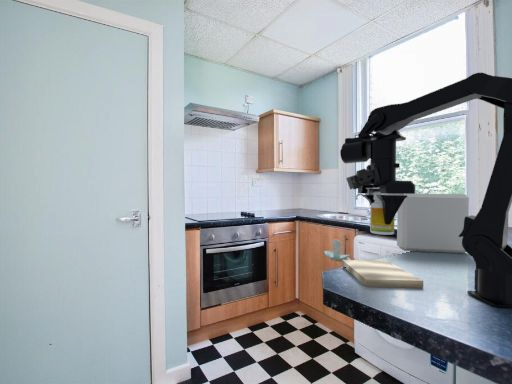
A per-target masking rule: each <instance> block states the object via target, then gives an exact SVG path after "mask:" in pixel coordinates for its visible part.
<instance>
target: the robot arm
mask: <svg viewBox="0 0 512 384" xmlns="http://www.w3.org/2000/svg"><path fill="white" fill-rule="evenodd" d="M476 99H477V100H480V101H483V102H486V103H488V104H491V105H492V106H496V107H498V108H500V109H503V118H502V119H503V121H502V123H503V127H502V128H503V134H502V140H501V142H500V145H499V148H498V152H497V155H496V158H495V162H494V165H493V168H492V172H491V174H490V178H489V182H488V185H487V187H486V190H485V195H484V198H483V200H482V204H481V207H480V209H479V211H478V212H477V213H476V215H468V216H466V217H465V219H464V228H463V231H462V233H461V234H460V235H459V237H463V239H462V246H463V248H464V249H465V251H466V252H465V253H467V254H468V255H469V256H470V257H472V259H473V260H474V261H473V262H474V263H475V270H474V288H473V289H474V290H467V294H468V295H470V296H472V297H474V298H476V299H478V300H480V301H483V302H485V303H487V304H489V305H490V306H493V307H496V308H512V246H510V244H508V235H509V212H510V209H511V205H512V77H507V76H499V75H497V76H496V75H493V74H492V75H491V74H487V73H486V72H475V73H473V74H470V75H469V76H467V77H466V78H464V79H461V80H459V81H456V82H454V83H451V84H449V85H447V86H444V87H441V88H439V89H436V90H433V91H432V92H428V93H426V94H423V95H422V96H420V97H417V98H414V99H412V100H409V101H406V102H402V103H393V104H386V105H383V106H379V107H376V108H374V109H372V110H371V111H370V113H369V115H368V117H367V121H366V122H365V124H363V127H362V129H361V130H360V131H359V133H358V135H357V137H347V138H345V139H344V143H343V144H342V146H341V149H340V151H339V153H340V158H341V160H342V162H343V163H344V164H353V163H366V162H368V161H369V160H370V164H367V166H366V168H362V169H358V170H356V173H355V174H353V175H351V176H347V177H346V178H345V179H346V181H347V185H348V187H349V190H357V194H361V196H362V197H363V198H365V199H366V200H367V201H368V203H369V206H370V207H371V204H372V203H374V202H375V200H374V194H383V195H376V196H377V197H378V198H379V199H380V200H381V201H382V206H383V214H384V221H385V224H386V225H390V224H391V222H392V220H393V218H394V219H395V216H396V214H397V213H398V209H399V208H400V206H401V204H402V203H403V201H404V199H405V198H407V195H404V194H416V184H415V183H414V182H413V181H411V180H397V169H400V162H399V163H398V162H397V142H403V141H405V140H407V137H406V136H404V135H403V134H402V133H400V130H402V129H405V127H407V126H408V125H410V124H411V123H412V122H414V121H416V120H418V119H421V118H424V117H427V116H431V115H433V114H436V113H438V112H441V111H445V110H447V109H451V108H453V107H456V106H458V105H459V106H460V105H462V104H465V103H467V102H470V101H472V100H476ZM373 132H375V133H373Z"/></svg>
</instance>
